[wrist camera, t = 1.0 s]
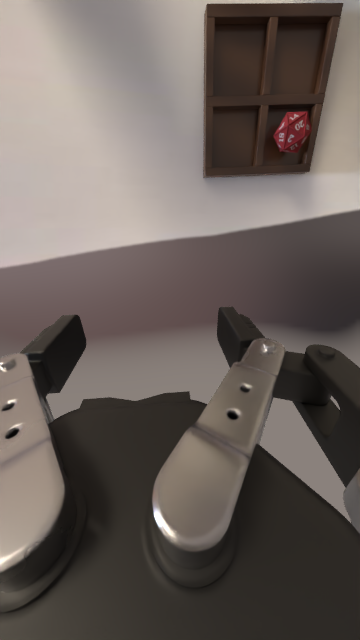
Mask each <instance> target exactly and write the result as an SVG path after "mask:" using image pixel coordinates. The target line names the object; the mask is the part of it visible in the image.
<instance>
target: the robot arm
mask: <svg viewBox="0 0 360 640" xmlns="http://www.w3.org/2000/svg"><path fill="white" fill-rule="evenodd" d="M217 337H218V341H219V344H220V346H221V348H222V350H223V353H224V355H225V357H226V360H227V362H228V364H229V367H230V370H229V371H228V373H227V374H226V376H225V378H224V379H223V381H222V382H221V384H220V386H219V387H218V389H217V390H216V392H215V393H214V395H213V397H212V398H211V400H210V401H209V403H208V405H207V404H205V403H202V402H199V401H195V400H190V394H189V392H177V393H164V394H160V395H157V396H153V397H149V398H146V399H142V400H139V401H131V400H124V399H117V398H97V399H84V400H83V401H82V404H81V406H80V408H79V409H77V410H74V411H71V412H68V413H67V414H64V415H62V416H60V417H59V418H57V419H55V420H54V417H53V415H52V412H51V409H50V406H49V404H48V401H47V399H46V396H47V394H49V393H60V391H61V389H62V388H63V386H64V384H65V383H66V381H67V379H68V377H69V376H70V374H71V372H72V371H73V369H74V367H75V365H76V364H77V362H78V360H79V359H80V357H81V355H82V354H83V351H84V350H85V348H86V338H85V334H84V331H83V327H82V324H81V320H80V317H79V316H78V315H65V316H64V315H63V316H61V317H60V318H59V319H58V320H57V321H56V322H55V323H54V324H53V325H51V326H49V327H48V328H46V329H44V330H43V331H42V332H41V333H40V334H39V336H37V337H36V338H35V339H34V341H32V342H31V343H30V344H29V345H28V346H26V348H24V349H23V350H22V351H21V352H20V353H16V354H10V355H6V356H4V357H1V358H0V640H360V368H359V367H358V366H357V365H355V364H354V363H353V362H352V361H351V360H350V359H348V358H347V357H346V356H345V355H344V354H342V353H341V352H340V351H338V350H336V349H334V348H331V347H328V346H324V345H310V346H308V347H307V348H306V352H305V354H302V353H294V352H288V351H286V350H285V347H284V346H283V345H282V344H281V343H279V342H277V341H275V340H272V339H266V338H265V337H264V336H263V335H262V333H261V332H260V331H259V330H258V329H257V328H256V326H255V325H254V324H253V323H252V321H251V320H250V319H249V318H248V317H246V316H244V315H242V314H240V315H239V314H238V313H237V312H236V310H235V309H234V308H233V307H220V308H219V312H218V326H217ZM331 395H332V396H333V397H334V399H335V400H336V401H337V403H338V404H339V407H340V410H339V409H338V408H337V407H336V405H335V404H334V403H333V402H332V400H331V399H330V398H331ZM273 397H275V398H280V399H285V400H290V401H293V403H294V405H295V406H296V408H297V410H298V411H299V413H300V414H301V416H302V418H303V419H304V421H305V422H306V424H307V426H308V427H309V429H310V430H311V432H312V434H313V435H314V437H315V439H316V440H317V442H318V444H319V445H320V447H321V448H322V450H323V452H324V453H325V455H326V456H327V458H328V460H329V461H330V463H331V465H332V466H333V468H334V469H335V471H336V473H337V474H338V476H339V478H340V479H341V481H342V482H343V484H344V486H345V487H346V489H345V490H344V494H343V500H344V505H345V508H346V510H347V512H348V515H349V517H350V519H351V523H350V522H349V521H348V520H347V519H346V518H345V517H344V516H343V515H342V514H341V513H340V512H339V511H337V510H336V509H335V508H334V507H333V506H331V504H329V503H328V502H327V501H326V500H325V499H323V498H322V497H321V496H320V495H319V494H317V493H316V492H315V491H314V490H312V489H311V488H310V487H309V486H308V485H307V484H305V483H304V482H303V481H302V480H301V479H299V478H298V477H297V476H296V475H295V474H293V473H292V472H291V471H290V470H289V469H287V468H286V467H285V466H284V465H283V464H281V463H280V462H279V461H278V460H277V459H276V458H274V457H273V456H272V455H271V454H269V453H268V452H267V451H266V450H265V449H264V448H262V447H261V446H260V445H259V444H260V441H261V437H262V433H263V430H264V427H265V423H266V420H267V417H268V413H269V410H270V407H271V403H272V400H273Z"/></svg>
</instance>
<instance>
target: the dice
mask: <svg viewBox="0 0 360 640" xmlns="http://www.w3.org/2000/svg"><path fill="white" fill-rule="evenodd" d="M311 131H312V128H311V124H310V120H309V116H308V112H287V113H286V115H285V117H284V118H283V120H282V122H281V124H280V125H279V127H278V129H277V131H276V132H275V134H274V136H273V137H274V139H275V141H276V144H277V147H278V149H279V152H294V153H297V152H298V151H299V149H300V148H301V146H302V145H303V143H304V142H305V140H306V139H307V137H308V136H309V134H310V133H311Z"/></svg>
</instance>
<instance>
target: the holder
mask: <svg viewBox="0 0 360 640" xmlns="http://www.w3.org/2000/svg"><path fill="white" fill-rule="evenodd" d="M342 7H343V3H277V4H207V6H206V10H205V15H204V167H203V178H208V177H232V176H256V175H279V174H303V173H307V172H309V171H310V166H311V161H312V156H313V151H314V146H315V141H316V136H317V131H318V126H319V121H320V116H321V111H322V106H323V102H324V97H325V91H326V86H327V81H328V76H329V71H330V67H331V62H332V57H333V52H334V47H335V42H336V37H337V32H338V27H339V22H340V16H341V12H342ZM287 112H308V116H309V120H310V124H311V128H312V131H311V133H310V134H309V136H308V137H307V139H306V140H305V142H304V143H303V145H302V146H301V148H300V149H299V151H298V152H297V153H294V152H279V149H278V147H277V144H276V141H275V139H274V137H273V136H274V134H275V132H276V131H277V129H278V127H279V125H280V124H281V122H282V120H283V118H284V117H285V115H286V113H287Z"/></svg>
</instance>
